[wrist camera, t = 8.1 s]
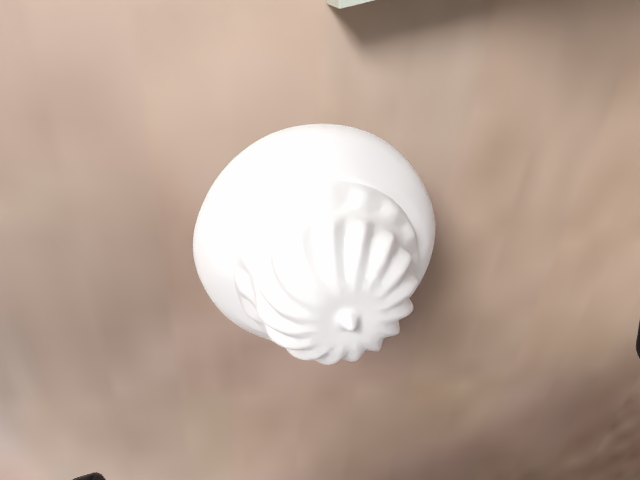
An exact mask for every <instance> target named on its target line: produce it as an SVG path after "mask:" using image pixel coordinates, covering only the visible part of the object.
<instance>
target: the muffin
mask: <svg viewBox="0 0 640 480" xmlns="http://www.w3.org/2000/svg"><path fill="white" fill-rule="evenodd" d="M434 240H435V218H434V211H433V207H432V204H431V200H430V198H429V195H428V193H427V191H426V188H425V186H424V184H423V182H422V181H421V179H420V177H419V175H418V174H417V172H416V171H415V170H414V168H413V167H412V166H411V164H410V163H409V162H408V161H407V159H406V158H405V157H404V156H403V155H401V154H400V153H399V152H398V151H397V150H396V149H395V148H394V147H392V146H391V145H390V144H388V143H387V142H385V141H384V140H382V139H381V138H379V137H377V136H375V135H373V134H371V133H368V132H366V131H363V130H360V129H357V128H354V127H349V126H344V125H336V124H310V125H301V126H295V127H290V128H287V129H283V130H280V131H277V132H274V133H272V134H270V135H267V136H265V137H263V138H262V139H260V140H258V141H256V142H255V143H253V144H252V145H250V146H249V147H247V148H246V149H244V150H243V151H242V152H241V153H240V154H238V155H237V156H236V157H235V158H234V159H233V160H232V161H231V162H230V163H229V164H228V165H227V166H226V167H225V169H224V170H223V171H222V172H221V173H220V175H219V176H218V178H217V179H216V181H215V182H214V183H213V185H212V187H211V188H210V190H209V192H208V194H207V196H206V198H205V200H204V202H203V205H202V207H201V209H200V212H199V215H198V218H197V222H196V225H195V230H194V236H193V254H194V261H195V265H196V269H197V272H198V275H199V277H200V280H201V282H202V284H203V286H204V288H205V290H206V292H207V293H208V295H209V297H210V298H211V299H212V301H213V302H214V304H215V305H216V306H217V307H218V308H219V310H220V311H221V312H222V313H223V314H224V315H225V316H226V317H227V318H228V319H230V320H231V321H232V322H234V323H235V324H236V325H238V326H239V327H241V328H243V329H245V330H246V331H248V332H250V333H253V334H255V335H257V336H260V337H262V338H265V339H268V340H271V341H273V342H275V343H276V344H278V345H279V346H282V347H284V348H286V349H287V351H288V352H289V353H290V354H291V355H292V356H294V357H296V358H299V359H301V360H315V361H317V362H319V363H321V364H325V365H332V364H335V363H337V362H338V361H339V360H341V359H344V360H346V361H349V362H355V361H357V360H358V359H359V358H360V357H361V356H362V354H363V353H364V352H365V351H366V350H370V351H379V350H380V349H381V346H382V343H383V340H384V338H386V337H391V336H395V335H397V334H399V332H400V326H399V320H400V319H402V318H405V317H406V316H408V315H409V314H410V313H411V312H412V311H413V304H412V302H411V300H410V299H409V298H410V297H411V296H412V294H413V293H414V292H415V290H416V289H417V287H418V285H419V284H420V282H421V280H422V278H423V276H424V274H425V272H426V270H427V267H428V265H429V262H430V259H431V255H432V251H433V247H434Z"/></svg>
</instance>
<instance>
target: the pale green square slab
mask: <svg viewBox="0 0 640 480" xmlns="http://www.w3.org/2000/svg"><path fill="white" fill-rule="evenodd" d="M369 1H373V0H327V4H329V5H331V6H334V7H336V8H339V9H341V8H345V7H349V6H353V5H357V4H361V3H365V2H369Z"/></svg>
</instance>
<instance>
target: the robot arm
mask: <svg viewBox="0 0 640 480" xmlns="http://www.w3.org/2000/svg"><path fill="white" fill-rule="evenodd" d="M636 350H637V354H638V356H639V358H640V322H639V329H638V335H637V341H636ZM73 480H105V478H104V477H103V476H102V475H101V474H100V473H97V472H96V473H91V474H88V475H84V476H81V477H77V478H75V479H73Z"/></svg>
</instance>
